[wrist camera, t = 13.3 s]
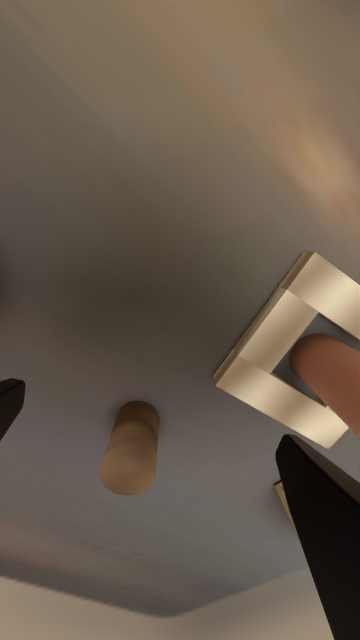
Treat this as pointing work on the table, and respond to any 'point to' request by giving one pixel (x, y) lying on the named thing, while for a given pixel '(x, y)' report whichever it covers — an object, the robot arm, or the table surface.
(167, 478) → the table surface
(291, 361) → the orange peg
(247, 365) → the socket block
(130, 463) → the walnut dowel
